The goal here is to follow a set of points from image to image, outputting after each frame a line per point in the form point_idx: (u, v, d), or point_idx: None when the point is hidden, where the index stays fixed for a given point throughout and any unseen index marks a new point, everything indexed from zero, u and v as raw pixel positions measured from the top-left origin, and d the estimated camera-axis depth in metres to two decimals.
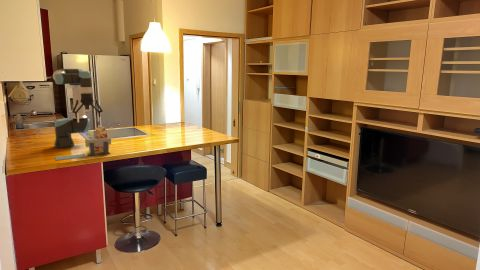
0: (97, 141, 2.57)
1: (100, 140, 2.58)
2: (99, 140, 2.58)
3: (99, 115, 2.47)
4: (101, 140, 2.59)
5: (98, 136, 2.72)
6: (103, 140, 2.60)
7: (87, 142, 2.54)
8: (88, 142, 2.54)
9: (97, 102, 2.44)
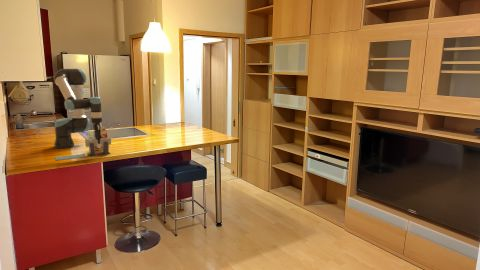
0: None
1: None
2: None
3: (98, 142, 2.56)
4: (101, 140, 2.59)
5: None
6: (103, 140, 2.60)
7: (87, 142, 2.54)
8: (88, 142, 2.54)
9: (97, 130, 2.52)
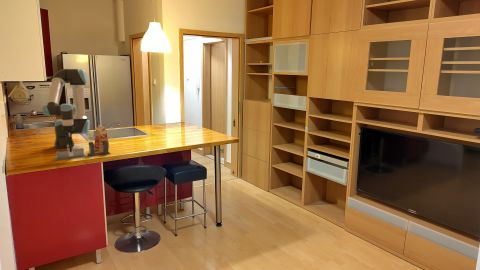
0: None
1: None
2: None
3: (69, 150, 2.44)
4: (73, 151, 2.50)
5: (98, 136, 2.72)
6: (75, 151, 2.51)
7: (58, 154, 2.45)
8: (59, 154, 2.45)
9: (68, 137, 2.42)
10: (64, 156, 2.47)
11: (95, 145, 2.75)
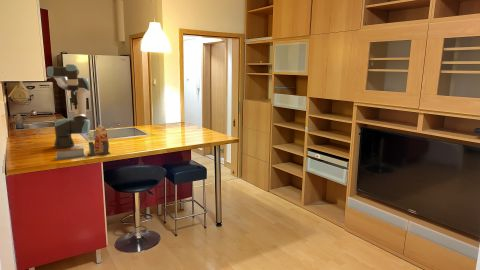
0: (69, 153, 2.48)
1: (72, 151, 2.49)
2: (71, 151, 2.49)
3: (74, 107, 2.53)
4: (73, 151, 2.50)
5: (98, 136, 2.72)
6: (75, 151, 2.51)
7: (58, 154, 2.45)
8: (59, 154, 2.45)
9: (73, 94, 2.52)
10: (64, 156, 2.47)
11: (95, 145, 2.75)
